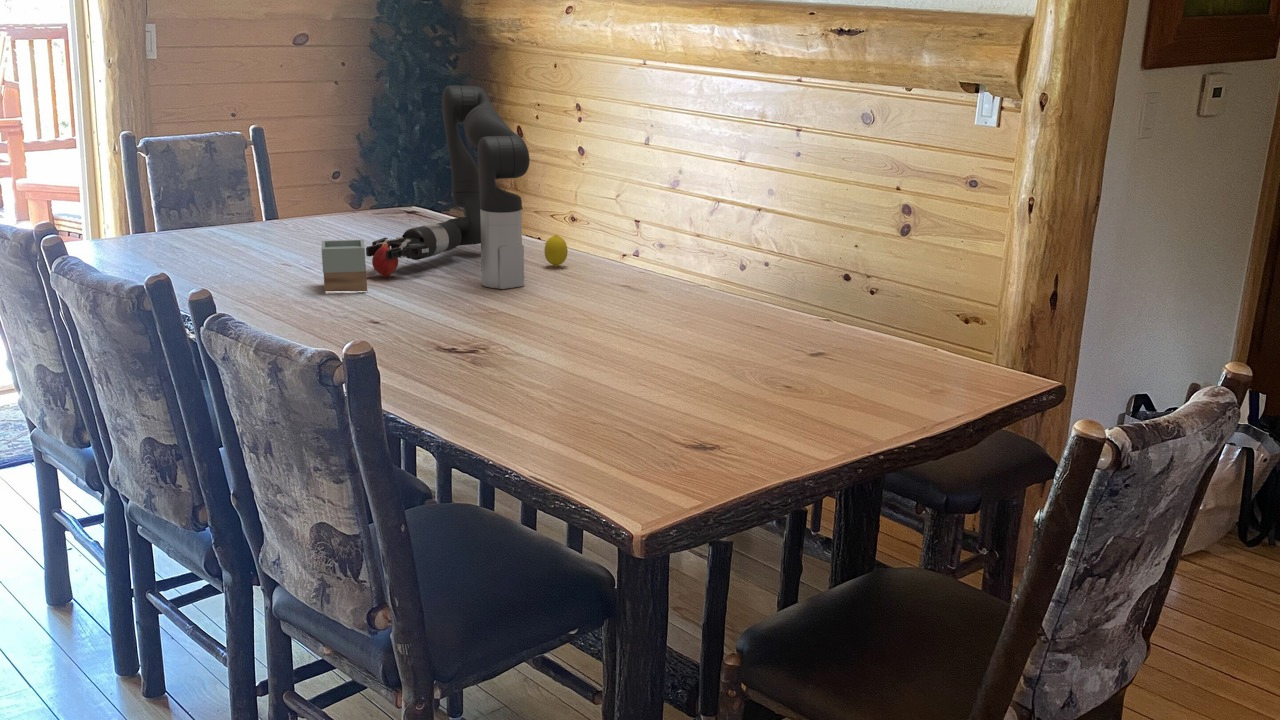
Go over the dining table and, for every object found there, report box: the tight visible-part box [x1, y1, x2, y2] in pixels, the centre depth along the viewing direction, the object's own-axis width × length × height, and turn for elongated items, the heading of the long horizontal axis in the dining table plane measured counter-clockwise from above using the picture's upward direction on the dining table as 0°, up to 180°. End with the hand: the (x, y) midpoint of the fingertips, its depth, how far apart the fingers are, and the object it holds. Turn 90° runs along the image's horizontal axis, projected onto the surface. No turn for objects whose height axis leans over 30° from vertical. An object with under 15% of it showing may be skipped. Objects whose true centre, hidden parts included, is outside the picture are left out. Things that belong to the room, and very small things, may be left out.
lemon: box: [544, 234, 568, 268], centre depth 281 cm, size 6×6×8 cm
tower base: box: [323, 261, 368, 292], centre depth 257 cm, size 9×9×5 cm
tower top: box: [321, 239, 367, 274], centre depth 255 cm, size 9×9×5 cm
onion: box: [371, 243, 399, 278], centre depth 267 cm, size 6×6×8 cm
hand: (377, 253), depth 264 cm, fingers closed on onion, 5 cm apart
